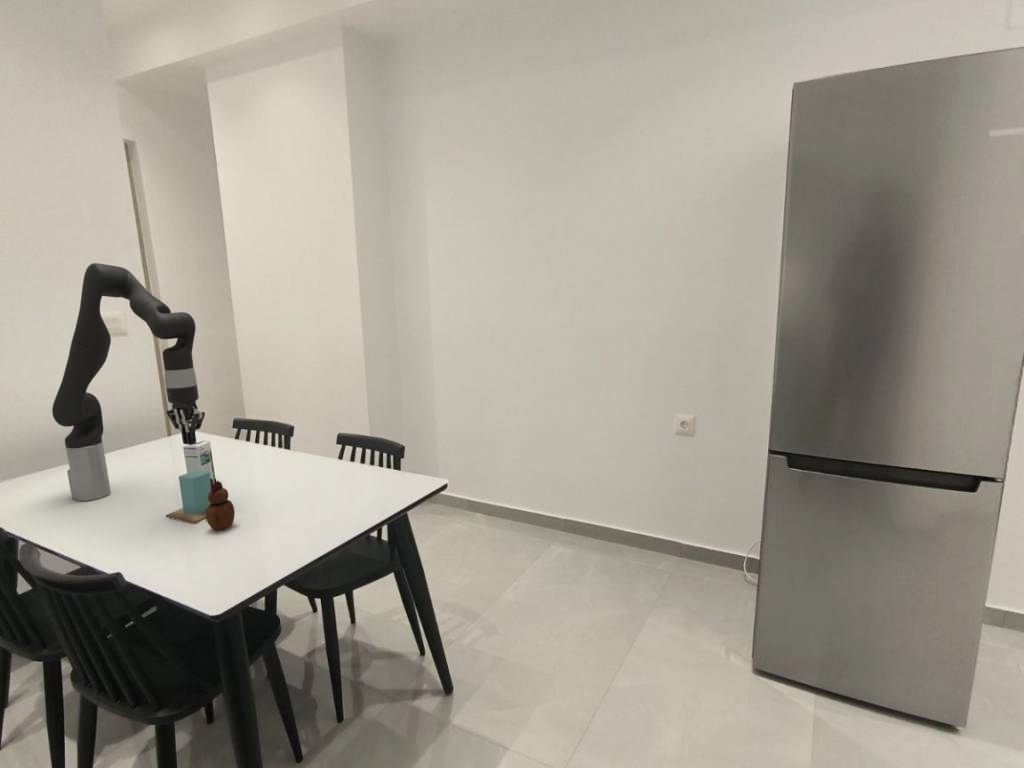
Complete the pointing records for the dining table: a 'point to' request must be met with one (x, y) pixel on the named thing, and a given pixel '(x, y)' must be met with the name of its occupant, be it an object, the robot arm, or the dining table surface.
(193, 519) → the brown base plate
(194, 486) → the tall teal pillar
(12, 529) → the dining table surface
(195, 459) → the syrup box
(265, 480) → the dining table surface
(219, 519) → the wooden figurine
